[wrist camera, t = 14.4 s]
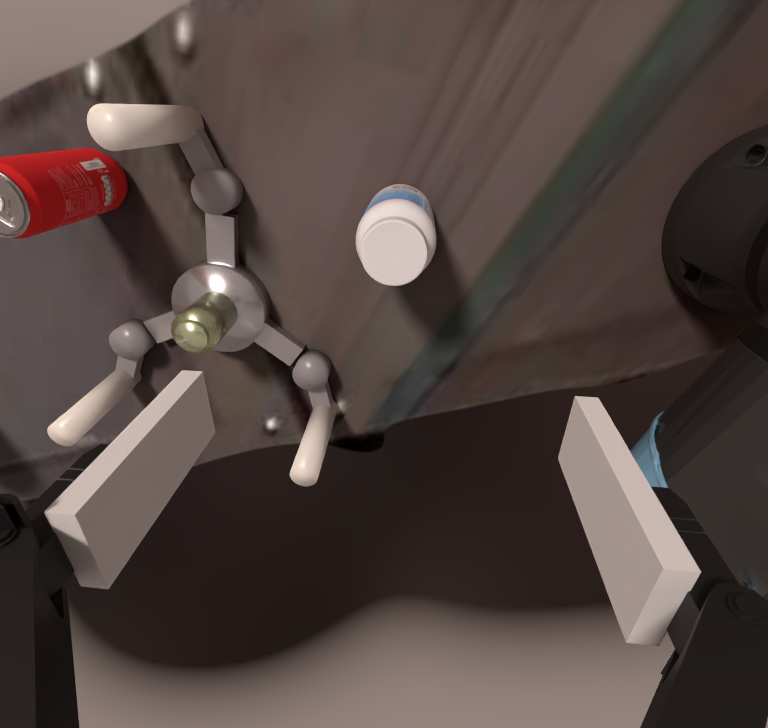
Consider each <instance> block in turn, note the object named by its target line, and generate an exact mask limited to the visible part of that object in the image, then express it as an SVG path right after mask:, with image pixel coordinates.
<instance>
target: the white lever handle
mask: <svg viewBox="0 0 768 728" xmlns="http://www.w3.org/2000/svg"><path fill="white" fill-rule="evenodd" d="M87 125H88V129H89V132H90V134H91V136H92V137H93V139H94V140H95V141H96V142H97V143H98V144H99V145H100V146H101V147H103V148H105V149H107V150H110V151H120V150H127V149H135V148H142V147H150V146H158V145H165V144H173V143H179V145H180V147H181V149H182V151H183V153H184V155H185V156H186V158H187V160H188V162H189V164H190V166H191V168H192V169H193V171H194V173H195V175H196V176H195V177H194V178H193V180H192V184H191V193H192V196H193V199H194V201H195V203H196V204H197V205H198V207H199V208H200V209H202V210H203V211H204V212H206V213H208V214H211V215H222V214H224V213H226V212H228V211H230V210H232V209H234V208H236V207H237V206H238V205H239V204H240V202H241V201H242V198H243V187H242V184H241V181H240V180H239V178H238V177H237V175H236V174H235V173H234V172H232V171H231V170H229V169H227V168H224V167H223V166H222V164H221V162H220V160H219V158H218V156H217V154H216V152H215V150H214V148H213V146H212V144H211V142H210V140H209V138H208V136H207V134H206V132H205V130H204V123H203V119H202V117H201V115H200V114H199V112H198V111H197V110H196V109H194V108H192V107H190V106H186V105H141V104H96V105H94V106H93V107H92V108H91V109H90V110H89V112H88V115H87Z"/></svg>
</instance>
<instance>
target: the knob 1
mask: <svg viewBox="0 0 768 728" xmlns="http://www.w3.org/2000/svg"><path fill="white" fill-rule="evenodd" d="M109 343H110V346H111V348H112V349H113V351H114V352H115V353H116V354H117V355H118V359H117V364H116V369H115V371H114V372H113V373H111V374H110V375H109V376H108V377H107V378H106V379H104V380H103V381H102V382H101V383H100V384H98V385H97V386H96V387H95V388H94V389H93V390H91V391H90V392H89V393H88V394H87V395H85V396H84V397H83V398H82V399H81V400H80V401H78V402H77V403H76V404H75V405H74V406H72V407H71V408H70V409H69V410H68V411H67V412H65V413H64V414H63V415H62V416H61V417H59V418H58V419H57V420H56V421H55V422H54V423H52V424H51V425H50V426H49V427H48V430H47V431H48V435H49V436H50V438H51V439H52V440H53V441H54V442H56V443H58V444H60V445H62V446H72V445H74V444H75V443H76V442H77V441H78V440H79V439H80V438H81V437H82V436H83V435H84V434H85V433H87V432H88V431H89V430H90V429H91V428H92V427H93V426H94V425H95V424H96V423H97V422H98V421H99V420H100V419H101V418H102V417H103V416H104V415H105V414H106V413H107V412H108V411H109V410H110V409H112V408H113V407H114V406H115V405H116V404H117V403H118V402H119V401H120V400H121V399H122V398H123V397H124V396H125V395H126V394H127V393H128V392H129V391H130V390H131V389H132V388H133V387H134V386H136V385H137V384H138V383H139V382H140V381H141V378H142V375H141V372H140V371H141V366H142V362H143V358H144V354H145V353H146V352H147V351H148V350H150V349H151V348H152V347H153V346H154V345H155V343H156V340H155V339H154V337H153V336H152V335H151V333H150V332H149V330H148V329H147V327H146V326H145V324H144V323H143V321H141V320H137V319H132V320H128V321H127V322H125V323H124V324H122V325H121V326H120V327H118V328H117V329H115V330H114V331H113V332H112V333H111V334H110V336H109Z"/></svg>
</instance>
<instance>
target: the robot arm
mask: <svg viewBox="0 0 768 728" xmlns="http://www.w3.org/2000/svg"><path fill="white" fill-rule="evenodd" d="M662 252H663V259H664V263H665V266H666V269H667V271H668V274H669V275H670V277H671V279H672V280H673V281H674V283H675V284H676V285H677V286H678V287H679V288H680V289H681V290H682V291H683V292H685V293H686V294H688V295H689V296H690V297H692V298H693V299H695V300H696V301H698V302H700V303H701V304H703V305H705V306H707V307H710V308H713V309H715V310H719V311H723V312H728V313H735V314H742V315H750V316H757V318H756V319H755V320H754V321H753V322H752V323H751V325H750V326H749V327H748V328H747V329H746V330H745V331H744V332H743V333H742V334H741V335H739V336H738V337H737V338H736V339H735V340H734V341H733V342H732V343H731V344H730V345H729V346H728V348H727V349H726V350H725V351H724V352H723V353H722V354H721V355H720V356H719V357H718V358H717V359H716V360H715V361H714V362H713V363H712V364H711V365H710V366H709V367H708V368H707V369H706V370H705V371H704V372H703V373H702V374H701V376H699V377H698V378H697V380H695V382H694V383H693V384H692V385H691V386H690V387H689V388H688V389H687V390H686V391H685V392H684V393H683V394H682V395H681V396H680V397H679V398H678V399H677V400H676V401H675V402H674V403H673V404H672V405H671V406H670V407H669V408H668V409H667V410H666V411H664V412H661V413H660V414H659V415H658V416H657V417H656V418H655V419H654V420H653V422H652V424H651V427H650V428H649V429H648V431H647V432H646V433H645V434H644V435H643V437H642V438H641V439H640V440H639V441H638V442H637V443H636V445H635V446H634V447H633V448H632V450H631V451H629V449H628V447H627V446H626V444H625V442H624V441H623V439H622V437H621V436H620V434H619V432H618V430H617V429H616V427H615V425H614V424H613V422H612V420H611V419H610V417H609V415H608V413H607V412H606V410H605V408H604V407H603V405H602V403H601V402H600V400H599V398H595V397H580V396H575V398H574V402H573V406H572V409H571V413H570V416H569V420H568V424H567V428H566V431H565V435H564V439H563V442H562V446H561V450H560V453H559V457H558V460H559V462H560V465H561V468H562V470H563V473H564V476H565V479H566V481H567V484H568V487H569V489H570V492H571V495H572V498H573V500H574V503H575V506H576V508H577V511H578V514H579V516H580V519H581V522H582V524H583V528H584V530H585V533H586V536H587V538H588V541H589V544H590V546H591V549H592V552H593V555H594V557H595V560H596V563H597V565H598V568H599V571H600V573H601V576H602V579H603V582H604V584H605V587H606V590H607V593H608V595H609V598H610V601H611V603H612V606H613V609H614V612H615V614H616V617H617V620H618V622H619V625H620V628H621V630H622V633H623V636H624V639H625V641H626V643H634V644H645V645H654V646H659V645H660V643H661V642H662V640H663V638H664V636H665V635H666V633H667V632H668V634H669V636H670V638H671V640H672V642H673V645H674V647H675V650H674V652H673V654H672V655H671V657H670V659H669V660H668V662H667V664H666V666H665V667H664V669H663V670H662V672H661V674H662V675H663V676H662V678H661V681H660V683H659V685H658V688H657V690H656V692H655V695H654V697H653V699H652V702H651V704H650V706H649V709H648V711H647V713H646V716H645V718H644V720H643V723H642V725H641V727H640V728H765V727H766V722H767V717H768V125H766V126H763V127H760V128H757V129H755V130H752V131H750V132H748V133H746V134H744V135H742V136H740V137H738V138H736V139H734V140H733V141H731V142H729V143H728V144H726V145H725V146H723V147H722V148H720V149H719V150H718V151H716V152H715V153H714V154H713V155H711V156H710V157H709V158H708V159H707V160H706V161H705V162H704V163H703V164H702V165H700V166H699V168H698V169H697V170H696V171H695V172H694V173H693V174H692V175H691V177H690V178H689V179H688V180H687V182H686V183H685V184H684V186H683V187H682V189H681V190H680V192H679V193H678V195H677V197H676V198H675V200H674V202H673V204H672V206H671V209H670V211H669V213H668V216H667V219H666V223H665V226H664V231H663V239H662ZM214 434H215V429H214V424H213V419H212V414H211V409H210V405H209V400H208V395H207V390H206V385H205V381H204V376H203V372H200V371H184V370H182V371H181V372H180V373H179V374H178V375H177V376H176V377H175V378H174V379H173V380H172V381H171V382H170V383H169V384H168V385H167V386H166V388H165V389H164V390H163V391H162V392H161V393H160V394H159V395H158V396H157V397H156V398H155V399H154V400H153V401H152V402H151V403H150V404H149V405H148V406H147V407H146V408H145V409H144V410H143V411H142V412H141V413H140V414H139V415H138V416H137V417H136V418H135V419H134V420H133V421H132V422H131V423H130V424H129V425H128V426H127V427H126V428H125V429H124V430H123V431H122V432H121V434H120V435H119V436H118V437H117V438H116V439H115V440H114V441H113V442H112V443H111V444H110V445H107V444H100V445H98V446H97V447H95V448H93V449H92V450H90V451H88V452H87V453H85V454H83V455H82V456H81V457H80V458H79V459H78V460H77V461H76V462H75V463H74V464H73V465H72V466H71V467H70V470H67V471H66V472H65V473H64V474H63V475H62V476H61V477H60V479H59V480H57V481H56V482H54V483H53V484H52V485H51V486H50V487H49V488H48V489H47V490H46V491H45V492H44V493H43V494H42V495H41V496H40V497H39V498H38V499H37V500H36V501H35V502H34V503H33V504H32V505H31V506H30V507H29V508H28V509H27V510H26V511H25V510H24V509H23V507H22V505H21V503H20V501H19V499H18V497H17V496H15V495H12V494H0V728H79V720H78V707H77V696H76V686H75V675H74V674H75V673H74V663H73V650H72V639H71V627H70V616H69V605H68V593H67V591H66V588H65V586H64V583H65V582H66V581H67V580H68V578H69V577H70V576H71V574H72V573H73V572H74V574H75V576H76V577H77V579H78V582H79V583H80V586H84V587H93V588H104V589H109V588H110V586H111V585H112V583H113V581H114V580H115V579H116V577H117V576H118V574H119V573H120V571H121V570H122V568H123V567H124V566H125V564H126V563H127V561H128V560H129V558H130V557H131V555H132V554H133V552H134V551H135V549H136V548H137V546H138V545H139V543H140V542H141V541H142V539H143V538H144V536H145V535H146V533H147V532H148V530H149V529H150V527H151V526H152V525H153V523H154V521H155V520H156V518H157V517H158V516H159V514H160V513H161V511H162V510H163V508H164V507H165V505H166V504H167V503H168V501H169V499H170V498H171V496H172V495H173V494H174V492H175V491H176V489H177V488H178V486H179V485H180V483H181V482H182V481H183V479H184V478H185V476H186V475H187V473H188V472H189V470H190V469H191V467H192V466H193V464H194V463H195V461H196V460H197V459H198V457H199V456H200V454H201V453H202V451H203V450H204V448H205V447H206V445H207V444H208V442H209V441H210V440H211V438H212V437H213V435H214Z"/></svg>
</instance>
